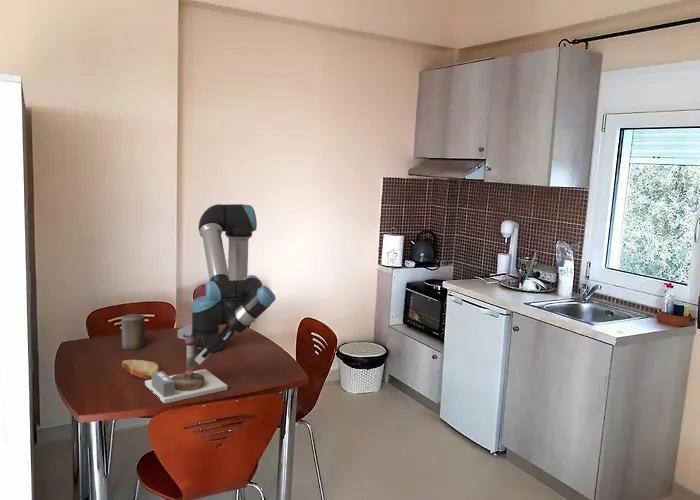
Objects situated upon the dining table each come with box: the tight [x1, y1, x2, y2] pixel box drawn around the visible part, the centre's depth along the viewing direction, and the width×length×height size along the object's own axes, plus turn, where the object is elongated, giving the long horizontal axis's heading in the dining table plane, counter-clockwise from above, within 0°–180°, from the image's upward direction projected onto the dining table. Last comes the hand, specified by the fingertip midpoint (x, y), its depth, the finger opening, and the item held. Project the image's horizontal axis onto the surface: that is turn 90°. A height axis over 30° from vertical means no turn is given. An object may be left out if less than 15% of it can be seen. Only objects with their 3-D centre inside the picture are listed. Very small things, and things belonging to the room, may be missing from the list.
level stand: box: [144, 368, 229, 404], centre depth 224 cm, size 20×24×7 cm
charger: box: [177, 323, 192, 340], centre depth 285 cm, size 5×9×15 cm
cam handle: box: [171, 336, 204, 390], centre depth 224 cm, size 17×12×16 cm
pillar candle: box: [120, 313, 146, 351], centre depth 265 cm, size 10×10×15 cm
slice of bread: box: [121, 359, 162, 380], centre depth 238 cm, size 18×18×4 cm
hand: (197, 361), depth 230 cm, fingers closed
